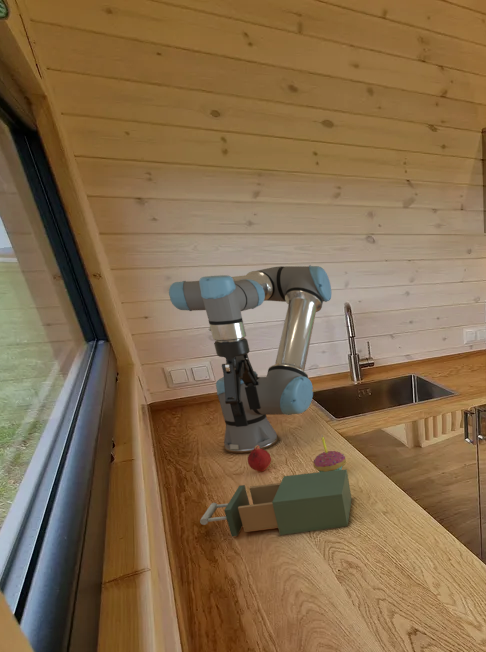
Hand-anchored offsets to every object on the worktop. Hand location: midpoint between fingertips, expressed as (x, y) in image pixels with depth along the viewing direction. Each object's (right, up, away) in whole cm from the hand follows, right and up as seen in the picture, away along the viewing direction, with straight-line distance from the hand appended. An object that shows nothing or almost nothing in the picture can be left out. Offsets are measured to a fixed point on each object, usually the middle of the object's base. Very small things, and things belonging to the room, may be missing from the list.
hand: (249, 417), depth 133 cm
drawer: (+12, -25, -19) cm, 33 cm away
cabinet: (+25, -24, -16) cm, 38 cm away
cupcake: (+22, -17, +3) cm, 27 cm away
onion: (0, -16, +7) cm, 17 cm away
